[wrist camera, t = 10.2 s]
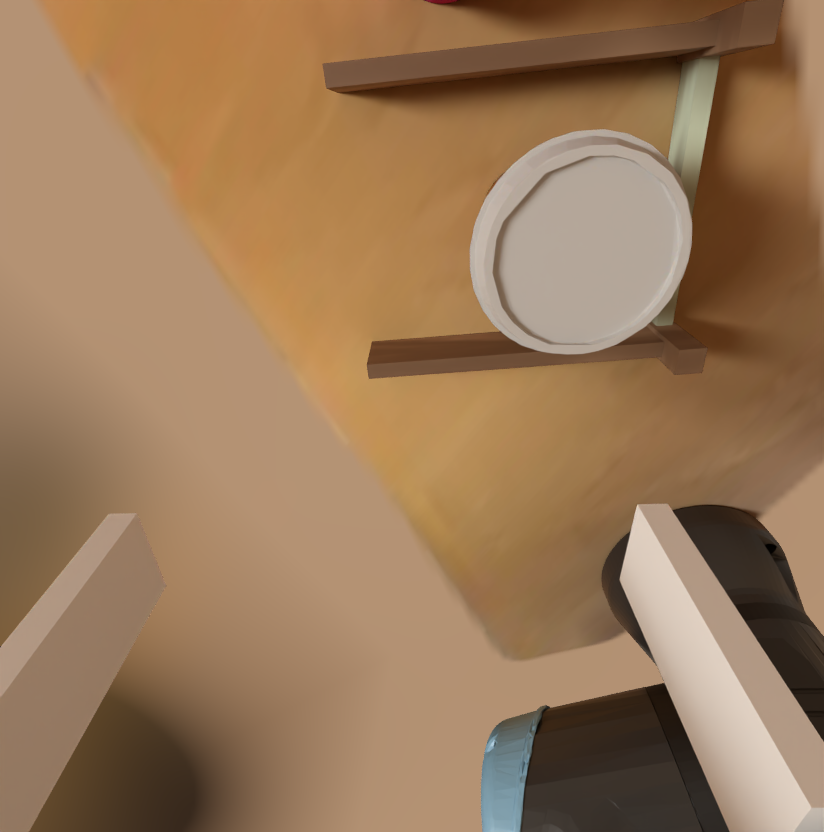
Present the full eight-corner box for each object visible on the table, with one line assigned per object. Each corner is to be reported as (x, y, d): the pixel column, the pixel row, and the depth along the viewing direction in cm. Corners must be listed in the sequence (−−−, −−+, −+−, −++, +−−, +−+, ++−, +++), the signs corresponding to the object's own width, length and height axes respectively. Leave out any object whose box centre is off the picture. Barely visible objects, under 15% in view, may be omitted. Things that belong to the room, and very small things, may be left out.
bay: (660, 336, 35) (702, 372, 30) (374, 358, 36) (366, 397, 31) (713, 22, 26) (784, -3, 21) (334, 65, 28) (313, 50, 22)
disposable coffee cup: (593, 101, 28) (694, 85, 18) (619, 262, 33) (712, 325, 22) (434, 166, 30) (441, 186, 20) (479, 311, 34) (504, 390, 24)
